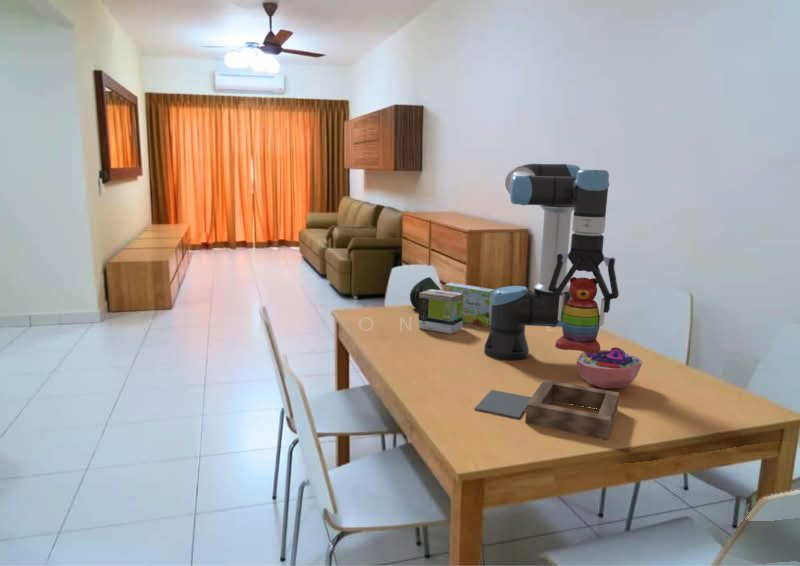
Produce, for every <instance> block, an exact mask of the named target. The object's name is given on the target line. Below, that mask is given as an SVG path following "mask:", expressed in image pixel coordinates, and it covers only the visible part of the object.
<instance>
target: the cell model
mask: <svg viewBox="0 0 800 566" xmlns="http://www.w3.org/2000/svg"><path fill="white" fill-rule="evenodd" d="M642 365H643V360H642V359H641V358H639V357H636V356H635V355H631V354H627V353H626V351H624V350H623V349H621V348H620V347H617V346H616V347H611V349H610V350H608V349H606V350H605V349H602V350H601V349H600V352H599V353H595V354H592V353H586V352H582V353H580V354H578V356H577V358H576V371H577V372H578V374H579V375H580V377H581V378H582V379H584V380H585V381H586V383H588V384H590V385H591V386H594V387H597V388H599V389H602V390H610V389H622V388H626V387H628V386H629V385H631V384H632V383H633V382H634V381H635V379H636V378H637V376H638V375H639V373H640V370H641V367H642Z"/></svg>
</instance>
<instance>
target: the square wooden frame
mask: <svg viewBox="0 0 800 566" xmlns="http://www.w3.org/2000/svg"><path fill="white" fill-rule="evenodd" d="M619 396H620V392H618V391H614V390H613V391H611V390H608V389H602V388H593V387H589V386H584V385H577V384H571V383H567V382H566V383H565V382H560V381H556V380H555V381H554V380H549V379H543V380H542V381H541V383H540V385H539V386H538V388H537V389H536V390H535V392H534V393H533V394H532V396H530V397H531V399H530V400H529V401H528V403H527V404H526V410H525V419H524V420H525V421H524V422H525V424H529V425H534V426H539V427H544V428H546V429H553V430H557V431H563V432H568V433H572V434H577V435H582V436H585V437H586V436H587V437H591V436H592V438H595V437H596V438H595V439H600V438H601V440H605V439H606V441H609V438H610V436H609V435H611V432H612V428H613V426H612V425H614V423H613V422H615V420H614V419H616V416H615V415H617V413H618V406H619V399H620V397H619ZM552 402H553V403H558V402H559V404H563V403H565V404H564V405H568V404H573V405H572V406H574V405H578V406H577V407H579V406H584V407H591V408H595V409H596V408H597V409H600V410H598V413H594V412H588V411H584V410H578V409H573V408H568V407H563V406H557V405H552V404H551V403H552ZM584 407H583V408H584ZM595 409H594V410H595ZM616 412H617V413H616Z"/></svg>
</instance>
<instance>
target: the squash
mask: <svg viewBox="0 0 800 566" xmlns="http://www.w3.org/2000/svg"><path fill="white" fill-rule="evenodd" d="M430 289H434V290H442V289H441V288H440V287H439V285H437V283H436V282H435V280H434V279H433V278H432V277H431V276H430V277H425V278H424V279H421V280H420V281H419V282H417V283H416V284H415V285H414V286H413V287H412V289H411V290H410V292H409V293H410V294H409V300H410V303H411V305H412V306H413V307H414V309H418V310H419V293H420V292H424V291H427V290H430Z"/></svg>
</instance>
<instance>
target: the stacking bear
mask: <svg viewBox="0 0 800 566" xmlns="http://www.w3.org/2000/svg"><path fill="white" fill-rule="evenodd" d="M569 283H570V285H569V293H570V295H571V297H572V299H570V300H569V301H568V302H567V304H566V305H565V308H564V312H563V314H562V321H561V323H562V327H561V329H562V336H560V337H559V338H558V339H556V340H555V345H554V347H555V348H556V349H559V350H563V351H579V352H582V353H584V352H586V353H592V354H595V353H599V352H600V350H601V344H600V343H599V341H598V340H597V337H598V335H599V331H600V327H601V326H599V319H600V309H599V306H598V303H597V300H594V299H595V298H596V297H597V293H598V286H597V285H598V283H597V280H596V278H595V277H593V278H589V277H575V276H572V277H571V279H570V280H569Z"/></svg>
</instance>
